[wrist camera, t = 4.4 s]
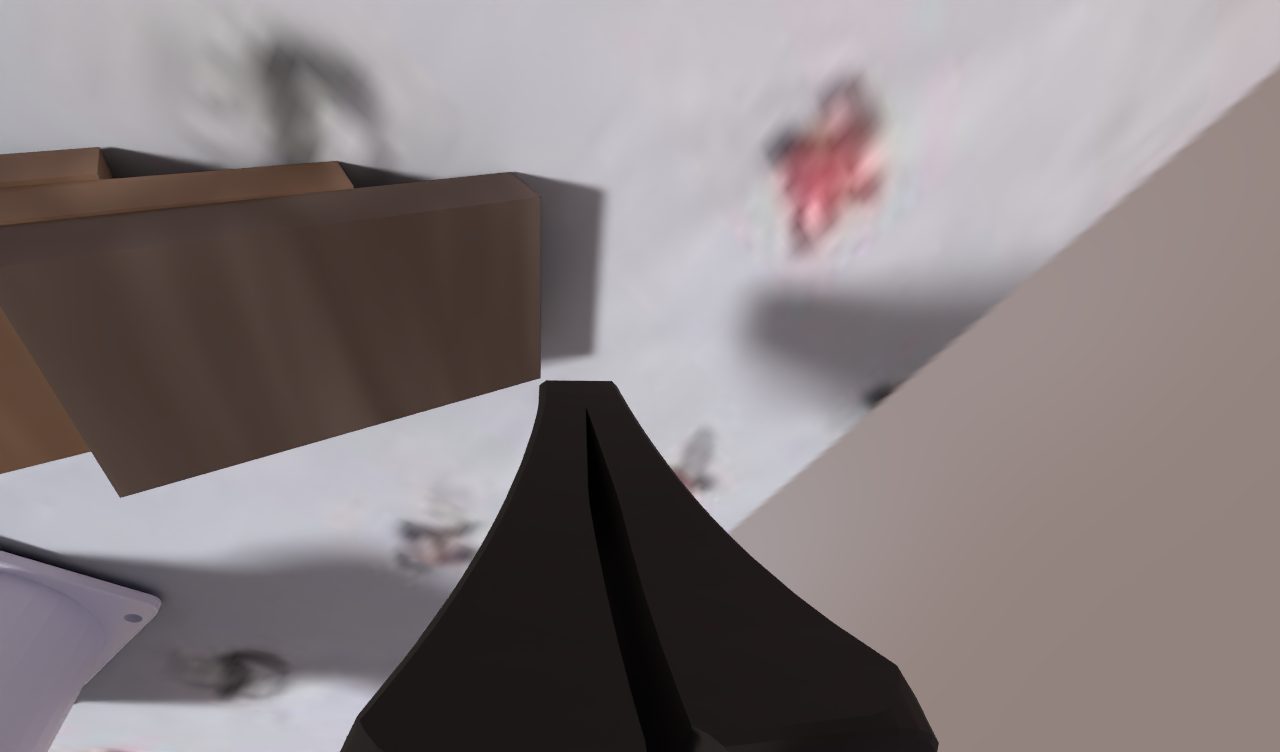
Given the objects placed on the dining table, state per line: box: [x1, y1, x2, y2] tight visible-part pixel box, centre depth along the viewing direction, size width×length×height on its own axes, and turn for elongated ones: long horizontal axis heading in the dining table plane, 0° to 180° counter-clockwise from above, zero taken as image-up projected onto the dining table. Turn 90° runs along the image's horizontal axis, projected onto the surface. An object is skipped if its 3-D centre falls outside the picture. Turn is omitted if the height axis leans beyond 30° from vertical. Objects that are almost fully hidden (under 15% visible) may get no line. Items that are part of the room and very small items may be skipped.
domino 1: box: [0, 161, 354, 474], centre depth 12 cm, size 2×5×9 cm
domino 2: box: [0, 172, 541, 498], centre depth 13 cm, size 2×5×9 cm
